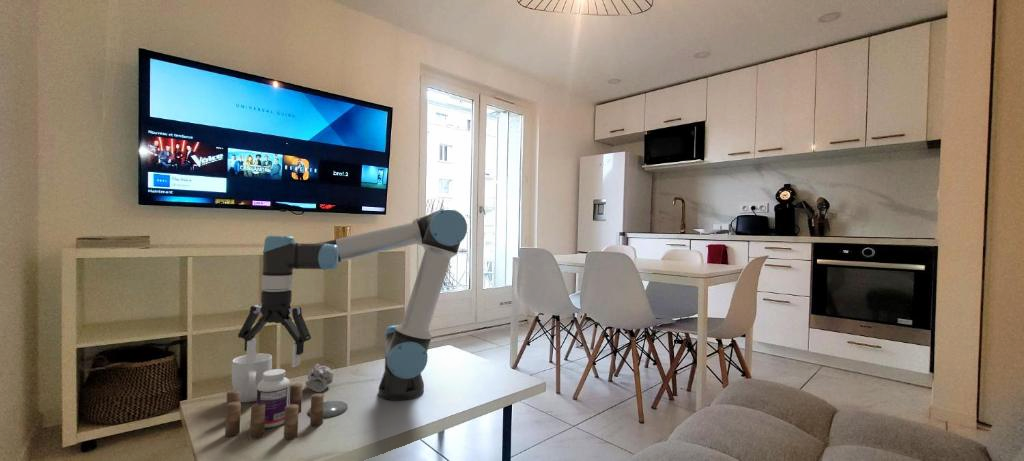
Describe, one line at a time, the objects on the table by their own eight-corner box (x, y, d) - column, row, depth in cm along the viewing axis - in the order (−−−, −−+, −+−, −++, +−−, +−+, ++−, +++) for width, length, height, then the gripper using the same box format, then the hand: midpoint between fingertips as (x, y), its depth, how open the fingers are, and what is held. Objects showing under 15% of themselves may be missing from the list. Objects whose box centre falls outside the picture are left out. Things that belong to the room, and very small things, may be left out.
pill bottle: (265, 416, 119) (266, 367, 119) (293, 416, 120) (295, 367, 120) (249, 429, 111) (251, 376, 111) (280, 429, 112) (282, 376, 112)
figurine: (316, 366, 136) (325, 349, 148) (296, 387, 136) (307, 369, 148) (337, 380, 138) (344, 362, 150) (317, 401, 138) (326, 382, 150)
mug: (272, 405, 127) (273, 363, 127) (229, 413, 121) (231, 369, 121) (269, 389, 139) (271, 351, 139) (231, 396, 133) (232, 356, 133)
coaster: (353, 403, 130) (353, 401, 130) (336, 419, 119) (336, 417, 119) (320, 401, 130) (320, 399, 130) (300, 416, 119) (300, 414, 119)
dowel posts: (336, 411, 123) (337, 385, 124) (300, 442, 105) (301, 411, 105) (250, 406, 126) (251, 380, 126) (200, 435, 107) (201, 404, 108)
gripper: (325, 290, 119) (322, 363, 118) (245, 286, 121) (241, 357, 120) (311, 293, 111) (307, 371, 111) (225, 289, 113) (221, 365, 113)
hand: (273, 364), depth 116 cm, fingers open, 13 cm apart
